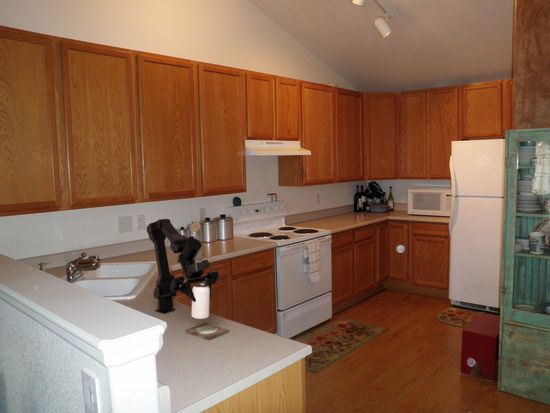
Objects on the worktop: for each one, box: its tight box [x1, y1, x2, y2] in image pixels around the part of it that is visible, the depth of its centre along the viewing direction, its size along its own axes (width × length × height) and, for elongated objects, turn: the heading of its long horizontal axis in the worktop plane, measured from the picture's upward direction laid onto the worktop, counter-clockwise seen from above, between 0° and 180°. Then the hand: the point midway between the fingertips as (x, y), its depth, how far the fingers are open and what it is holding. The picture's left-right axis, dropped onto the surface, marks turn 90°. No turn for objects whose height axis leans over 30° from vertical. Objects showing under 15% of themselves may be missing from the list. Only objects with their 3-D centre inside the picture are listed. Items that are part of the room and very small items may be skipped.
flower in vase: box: [189, 220, 203, 253], centre depth 316 cm, size 13×11×25 cm
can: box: [191, 283, 211, 320], centre depth 166 cm, size 6×6×12 cm
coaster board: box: [185, 322, 230, 341], centre depth 168 cm, size 13×10×1 cm
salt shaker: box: [194, 248, 203, 261], centre depth 301 cm, size 6×6×13 cm
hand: (203, 299), depth 165 cm, fingers closed on can, 6 cm apart
